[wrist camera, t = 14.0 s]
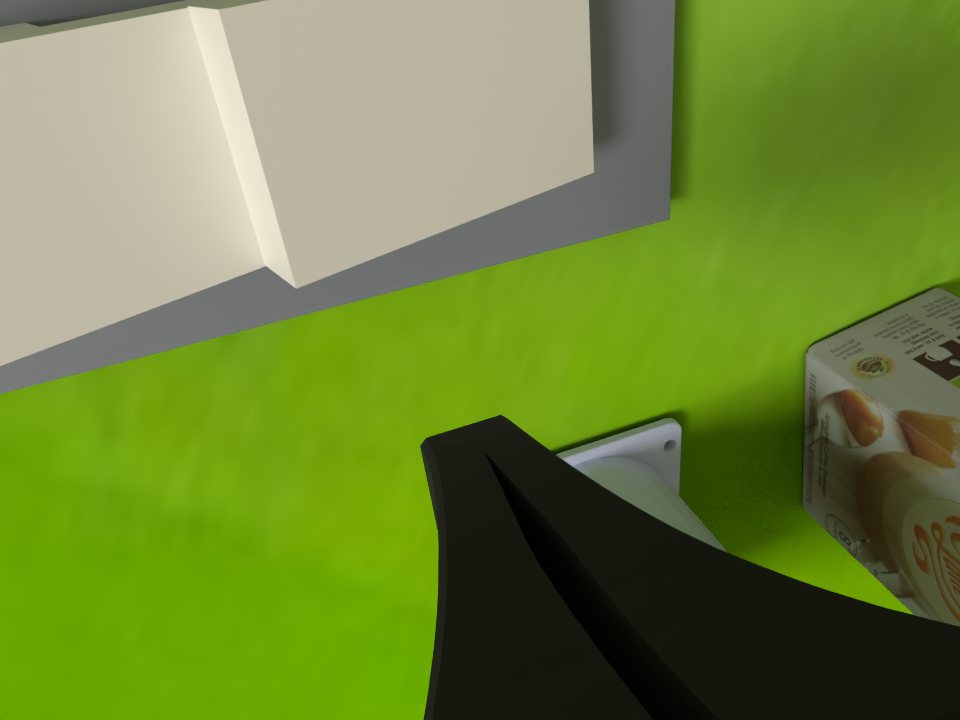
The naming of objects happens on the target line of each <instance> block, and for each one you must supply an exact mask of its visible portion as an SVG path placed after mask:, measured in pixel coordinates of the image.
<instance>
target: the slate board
mask: <svg viewBox="0 0 960 720" xmlns="http://www.w3.org/2000/svg"><path fill="white" fill-rule="evenodd" d="M179 1H184V0H0V27H2V26H8V25H13V24H19V23H28V24H31V25H35V26H39V27H42V26H48V25H53V24H59V23H64V22H70V21H75V20H81V19H86V18H91V17H97V16H102V15H108V14H113V13H119V12H124V11H130V10H135V9H140V8H146V7H151V6H157V5H162V4H168V3H173V2H179ZM589 23H590V57H591V90H592V124H593V158H594V173H592V174H589V175H587V176H584V177H581V178H579V179H576V180H574V181H571V182H569V183H566V184H563V185H561V186H558V187H556V188H553V189H551V190H548V191H546V192H543V193H540V194H538V195H535V196H533V197H530V198H528V199H525V200H522V201H520V202H517V203H515V204H512V205H510V206H507V207H505V208H502V209H499V210H497V211H494V212H492V213H489V214H487V215H484V216H481V217H479V218H476V219H474V220H471V221H469V222H466V223H464V224H461V225H458V226H456V227H453V228H451V229H448V230H446V231H443V232H440V233H438V234H435V235H433V236H430V237H428V238H425V239H422V240H420V241H417V242H415V243H412V244H410V245H407V246H405V247H402V248H399V249H397V250H394V251H392V252H389V253H387V254H384V255H381V256H379V257H376V258H374V259H371V260H369V261H366V262H364V263H361V264H358V265H356V266H353V267H351V268H348V269H346V270H343V271H340V272H338V273H335V274H333V275H330V276H328V277H325V278H323V279H320V280H317V281H315V282H312V283H310V284H307V285H305V286H302V287H299V288H297V289H296V288H295V287H293V286H292V285H291V284H289V283H288V282H287V281H285V280H284V279H283V278H281V277H280V276H279V275H277V274H276V273H275V272H273V271H272V270H271V269H269V268H268V267H267V266H265V267H262V268H260V269H257V270H254V271H252V272H249V273H246V274H244V275H241V276H238V277H236V278H233V279H230V280H228V281H225V282H222V283H220V284H217V285H215V286H212V287H209V288H207V289H204V290H201V291H199V292H196V293H193V294H191V295H188V296H185V297H183V298H180V299H177V300H175V301H172V302H169V303H167V304H164V305H161V306H159V307H156V308H153V309H151V310H148V311H145V312H143V313H140V314H137V315H135V316H132V317H129V318H127V319H124V320H121V321H119V322H116V323H114V324H111V325H108V326H106V327H103V328H100V329H98V330H95V331H92V332H90V333H87V334H84V335H82V336H79V337H76V338H74V339H71V340H68V341H66V342H63V343H60V344H58V345H55V346H52V347H50V348H47V349H44V350H42V351H39V352H36V353H34V354H31V355H28V356H26V357H23V358H21V359H18V360H15V361H13V362H10V363H7V364H5V365H2V366H0V394H2V393H6V392H9V391H13V390H17V389H21V388H25V387H29V386H32V385H36V384H40V383H44V382H48V381H52V380H55V379H59V378H63V377H67V376H71V375H75V374H78V373H82V372H86V371H90V370H94V369H98V368H101V367H105V366H109V365H113V364H117V363H121V362H124V361H128V360H132V359H136V358H140V357H144V356H147V355H151V354H155V353H159V352H163V351H167V350H170V349H174V348H178V347H182V346H186V345H190V344H193V343H197V342H201V341H205V340H209V339H213V338H216V337H220V336H224V335H228V334H232V333H236V332H239V331H243V330H247V329H251V328H255V327H259V326H262V325H266V324H270V323H274V322H278V321H282V320H285V319H289V318H293V317H297V316H301V315H305V314H308V313H312V312H316V311H320V310H324V309H328V308H331V307H335V306H339V305H343V304H347V303H351V302H354V301H358V300H362V299H366V298H370V297H374V296H377V295H381V294H385V293H389V292H393V291H397V290H400V289H404V288H408V287H412V286H416V285H420V284H423V283H427V282H431V281H435V280H439V279H443V278H446V277H450V276H454V275H458V274H462V273H466V272H469V271H473V270H477V269H481V268H485V267H489V266H492V265H496V264H500V263H504V262H508V261H512V260H516V259H519V258H523V257H527V256H531V255H535V254H539V253H542V252H546V251H550V250H554V249H558V248H562V247H565V246H569V245H573V244H577V243H581V242H585V241H588V240H592V239H596V238H600V237H604V236H608V235H611V234H615V233H619V232H623V231H627V230H631V229H634V228H638V227H642V226H646V225H650V224H654V223H657V222H661V221H665V220H669V219H670V187H671V147H672V108H673V69H674V29H675V0H589Z"/></svg>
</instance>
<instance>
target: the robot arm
mask: <svg viewBox="0 0 960 720" xmlns="http://www.w3.org/2000/svg"><path fill="white" fill-rule="evenodd" d="M681 437H682V429H681V426H680V425H679V423H678V422H677V421H676V420H675V419H673V418H665V419H662V420H659V421H656V422H653V423H650V424H647V425H644V426H641V427H638V428H635V429H632V430H629V431H626V432H623V433H620V434H617V435H613V436H610V437H607V438H604V439H601V440H598V441H595V442H592V443H589V444H586V445H583V446H580V447H577V448H574V449H571V450H568V451H565V452H562V453H559V454H554V453H553V452H551V451H550V450H549V449H547V448H546V447H545V446H543V445H542V444H540V443H539V442H538V441H536V440H535V439H534V438H532V437H531V436H530V435H528V434H527V433H526V432H524V431H523V430H522V429H521V428H519V427H518V426H517V425H515V424H514V423H513V422H511V421H510V420H509V419H507V418H505V417H504V416H502V415H499V416H496V417H492V418H489V419H486V420H483V421H479V422H476V423H473V424H470V425H466V426H463V427H460V428H457V429H453V430H450V431H447V432H444V433H441V434H437V435H434V436H431V437H428V438H426V439H425V440H424V442H423V443H422V444H421V446H420V447H421V452H422V457H423V462H424V467H425V471H426V476H427V481H428V486H429V491H430V496H431V500H432V505H433V510H434V515H435V520H436V524H437V529H438V542H439V561H438V603H437V619H436V630H435V642H434V651H433V659H432V667H431V674H430V682H429V690H428V696H427V703H426V709H425V715H424V720H960V627H959V626H955V625H951V624H947V623H943V622H939V621H935V620H931V619H927V618H923V617H919V616H915V615H911V614H907V613H903V612H899V611H895V610H891V609H887V608H884V607H880V606H877V605H873V604H870V603H867V602H864V601H860V600H857V599H854V598H851V597H848V596H844V595H841V594H838V593H835V592H831V591H828V590H825V589H822V588H819V587H816V586H813V585H810V584H808V583H805V582H802V581H799V580H796V579H793V578H790V577H788V576H785V575H783V574H780V573H778V572H775V571H772V570H770V569H767V568H765V567H762V566H759V565H757V564H754V563H752V562H749V561H746V560H744V559H741V558H739V557H737V556H734V555H732V554H730V553H728V552H727V551H726V549H725V548H724V547H723V546H722V545H721V544H720V543H719V541H718V540H717V539H716V538H715V537H714V536H713V535H712V533H711V532H710V531H709V530H708V529H707V528H706V526H705V525H704V524H703V523H702V522H701V521H700V520H699V518H698V517H697V516H696V515H695V514H694V513H693V511H692V510H691V509H690V508H689V507H688V506H687V505H686V503H685V502H684V501H683V500H682V499H681V498H680V497H679V485H680V461H681ZM667 441H669V442H668V443H667V444H665V443H666V442H667ZM664 444H665V445H664Z"/></svg>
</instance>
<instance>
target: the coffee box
mask: <svg viewBox="0 0 960 720" xmlns="http://www.w3.org/2000/svg"><path fill="white" fill-rule="evenodd" d="M803 509H804V510H805V511H806V512H807V513H808V514H809V515H810V516H811V517H812V518H813V519H814V520H815V521H816V522H818V523H819V524H820V525H821V526H822V527H823V528H824V529H825V530H826V531H827V532H828V533H829V534H830V535H831V536H832V537H833V538H834V539H835V540H836V541H837V542H838V543H839V544H841V545H842V546H843V547H844V548H845V549H846V550H847V551H848V552H849V553H850V554H851V555H852V556H853V557H854V558H855V559H856V560H857V561H859V562H860V563H861V564H862V565H863V566H864V567H865V568H866V569H867V570H868V571H869V572H870V573H871V574H872V575H873V576H874V577H875V578H877V579H878V580H879V581H880V582H881V583H882V584H883V585H884V586H885V587H886V588H887V589H888V590H889V591H890V592H891V593H892V594H893V595H894V596H895V597H896V598H897V599H898V600H899V601H900V602H901V603H902V604H904V605H905V606H906V607H907V608H908V609H909V610H910V611H911V612H912V613H913V614H914V615H915V616H919V617H923V618H927V619H931V620H935V621H939V622H943V623H947V624H951V625H955V626H959V627H960V298H959V297H957V296H955V295H953V294H952V293H950V292H947V291H945V290H943V289H941V288H935V289H932V290H930V291H928V292H926V293H924V294H921V295H919V296H917V297H915V298H913V299H910V300H908V301H906V302H904V303H902V304H900V305H897V306H895V307H893V308H891V309H889V310H887V311H885V312H882V313H880V314H878V315H876V316H874V317H872V318H870V319H868V320H865V321H863V322H861V323H859V324H857V325H855V326H852V327H850V328H848V329H846V330H844V331H842V332H839V333H837V334H835V335H833V336H831V337H828V338H826V339H824V340H822V341H820V342H817V343H815V344H813V345H812V346H811V347H810V348H809V349H808V351H807V353H806V361H805V412H804V458H803Z"/></svg>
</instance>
